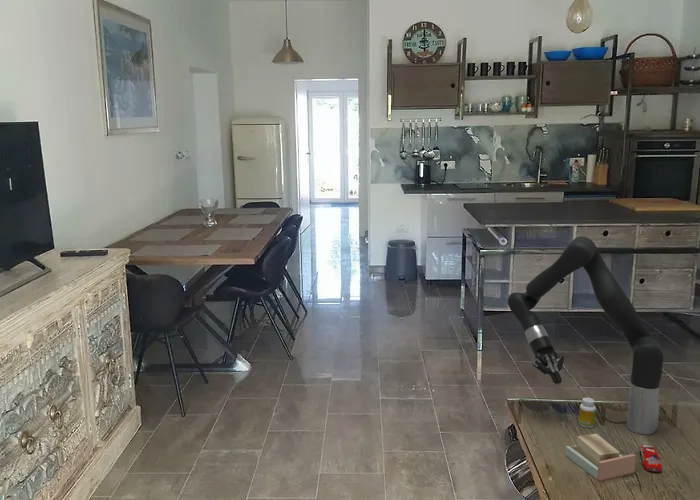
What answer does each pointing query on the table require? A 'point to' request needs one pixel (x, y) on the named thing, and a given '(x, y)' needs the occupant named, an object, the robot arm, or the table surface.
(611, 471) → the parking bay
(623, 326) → the robot arm
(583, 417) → the supplement bottle
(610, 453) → the oak block
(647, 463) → the race car
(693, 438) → the table surface
